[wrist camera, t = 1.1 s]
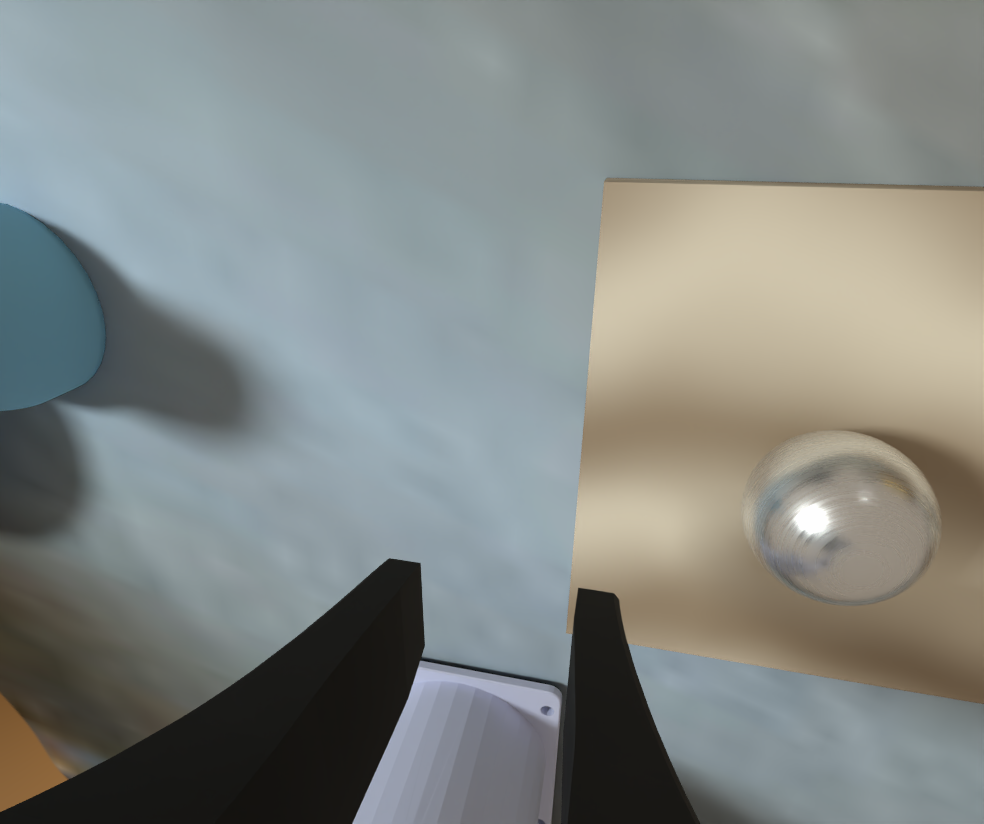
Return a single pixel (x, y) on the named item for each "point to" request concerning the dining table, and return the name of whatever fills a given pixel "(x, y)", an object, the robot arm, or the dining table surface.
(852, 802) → the dining table surface
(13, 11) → the dining table surface
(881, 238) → the ash board
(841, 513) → the steel ball
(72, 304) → the light blue lumpy shape
